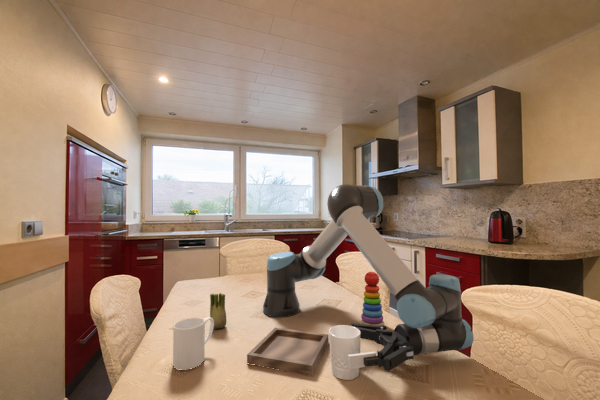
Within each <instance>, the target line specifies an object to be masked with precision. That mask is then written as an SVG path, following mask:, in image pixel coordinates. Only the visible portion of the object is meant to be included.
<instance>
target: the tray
mask: <svg viewBox="0 0 600 400" xmlns="http://www.w3.org/2000/svg"><path fill="white" fill-rule="evenodd" d="M329 344H330V342H329V333H328V334H326V333H320V332H319V333H318V332H312V331H304V330H297V329H288V328H280V327H274V328H273V329H272V330H270V332H269V333H267V335H265V337H263V339H261V341H260V342H258V344H256V345H255V346H254V347H253V348H252V349H251V350H250V351H249V352H248V353H247V354H246V364H247V363H249V364H255V365H260V366H264V367H263V368H265V367H269V368H268V369H270V368H274V369H273V370H275V369H279V370H278V371H281V370H283V371H282V372H286V371H287V372H286V373H291V372H292V373H293V374H297V375H301V376H302V375H303V376H308V377H313V376H314V373H315V371H316V369H317V367H318V365H319V363H320V361H321V359H322V357H323V354H324V353H325V351H326V349H327V347H328V345H329ZM249 364H248V365H249Z"/></svg>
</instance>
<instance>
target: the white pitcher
mask: <svg viewBox="0 0 600 400" xmlns="http://www.w3.org/2000/svg"><path fill="white" fill-rule="evenodd" d="M208 321H210V322H209V323H210V325H209V330H208V331H207V332H208V333H207V335H206V336H205V332H206V329H205V328H206V326H205V325H206V324H205V323H207V322H208ZM172 329H173V330H172V331H173V333H172V334H173V337H172V338H173V339H172V340H173V341H172V342H173V343H172V346H173V347H172V349H173V350H172V367H173V366H174V367H175V368H177V369H182V370H185V369H190V368H194V367H196V368H198V367H199V366H198V365H200V364H201V363H202V362H203V361H204V362H205V345H206V344H207V343H208V341H209V340H210V338H211V336H212V334H213V331H214V320H213V318H211V317H210V316H207V317H205V318H201V317H189V318H184V319H181V320H178V321H177V322H175V323H174V324H173V328H172ZM204 362H203V363H204ZM203 363H202V364H203ZM202 364H201V365H202ZM201 365H200V366H201ZM197 366H198V367H197ZM174 367H173V368H174ZM194 369H195V368H194Z"/></svg>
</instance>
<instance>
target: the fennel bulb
mask: <svg viewBox="0 0 600 400" xmlns="http://www.w3.org/2000/svg"><path fill="white" fill-rule="evenodd" d="M209 297H210V307H209V315H210V316H209V317H211V318H213V320H214V328H213V330H221V329H223V328H225V326H226V325H227V312H226V311H227V310H226V294H225V293H222V292H219V293H210V295H209Z"/></svg>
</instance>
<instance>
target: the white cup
mask: <svg viewBox="0 0 600 400" xmlns="http://www.w3.org/2000/svg"><path fill="white" fill-rule="evenodd" d="M360 335H361V332H360V330H359V329H357V328H355V327H353V326H351V325H350V324H349V325H348V324H347V325H346V324H338V325H333V326H331V327H330V328H329V330H328V339H329V354H330V362H331V373H332V374H333V376H335V377H336V378H337V379H340V380H343V381H351V380H355V379H356V378H358V377H359V375H360V368H353V369H349V367H348V355H350V354H358V353H361V338H360Z"/></svg>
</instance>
